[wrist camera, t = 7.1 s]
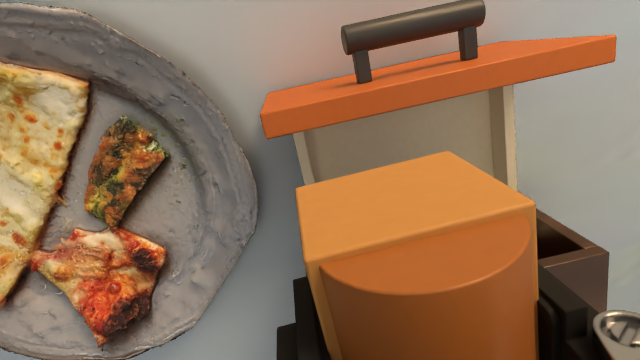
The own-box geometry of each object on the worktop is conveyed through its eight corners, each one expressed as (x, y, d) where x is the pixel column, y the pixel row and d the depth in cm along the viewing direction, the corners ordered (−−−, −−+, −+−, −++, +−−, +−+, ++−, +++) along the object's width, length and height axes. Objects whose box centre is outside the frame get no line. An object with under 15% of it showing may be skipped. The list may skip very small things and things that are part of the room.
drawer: (256, 48, 25) (241, 45, 16) (499, -5, 25) (620, -38, 16) (310, 267, 30) (322, 358, 21) (510, 221, 31) (606, 290, 22)
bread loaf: (294, 187, 12) (309, 314, 6) (448, 149, 12) (603, 239, 6) (344, 378, 15) (387, 591, 9) (470, 346, 15) (593, 534, 9)
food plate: (155, 383, 33) (141, 420, 30) (-153, 266, 27) (-213, 296, 24) (308, 137, 28) (311, 149, 24) (-37, -69, 22) (-94, -92, 19)
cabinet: (301, 237, 30) (310, 322, 20) (506, 190, 30) (609, 252, 21) (336, 377, 35) (357, 500, 25) (514, 334, 35) (600, 440, 25)
